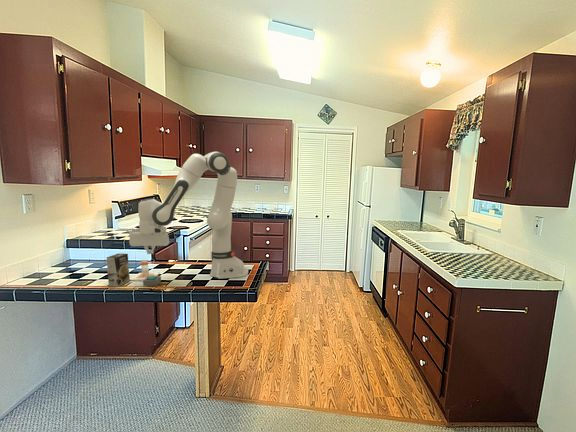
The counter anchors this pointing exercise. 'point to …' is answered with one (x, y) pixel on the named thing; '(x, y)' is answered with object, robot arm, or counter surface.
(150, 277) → the button
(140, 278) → the picture board
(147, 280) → the button housing
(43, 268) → the counter surface
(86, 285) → the counter surface
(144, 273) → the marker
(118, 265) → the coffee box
